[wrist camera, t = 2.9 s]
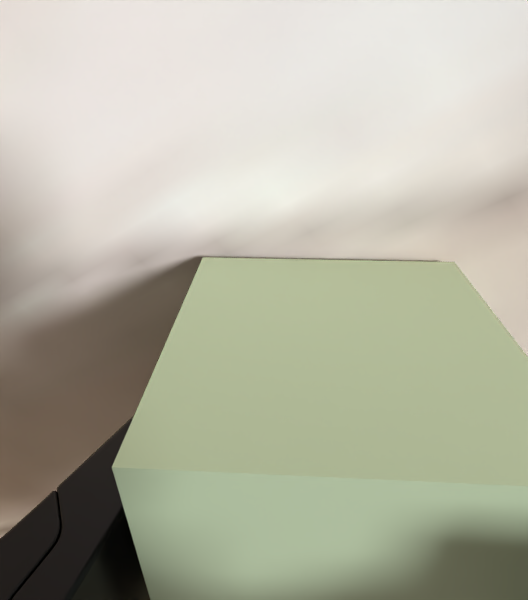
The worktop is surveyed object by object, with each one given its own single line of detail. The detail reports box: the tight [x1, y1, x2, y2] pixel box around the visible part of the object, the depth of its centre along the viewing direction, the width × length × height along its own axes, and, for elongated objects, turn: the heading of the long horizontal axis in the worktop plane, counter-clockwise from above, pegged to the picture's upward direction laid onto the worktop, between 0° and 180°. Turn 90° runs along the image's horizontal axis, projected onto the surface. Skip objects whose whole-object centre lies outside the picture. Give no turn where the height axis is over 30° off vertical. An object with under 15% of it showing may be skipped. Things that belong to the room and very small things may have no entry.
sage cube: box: [112, 257, 528, 600], centre depth 7 cm, size 5×5×5 cm
